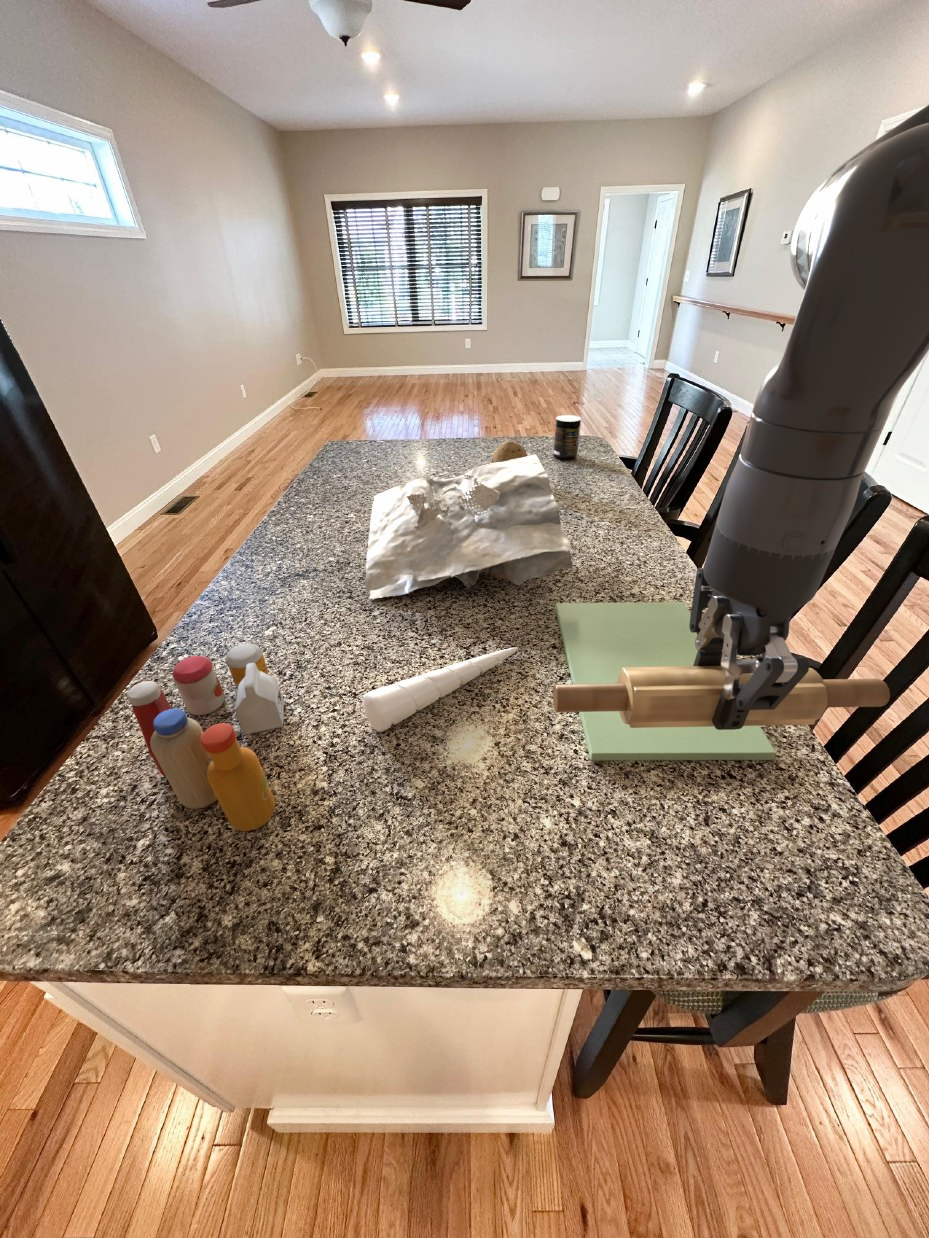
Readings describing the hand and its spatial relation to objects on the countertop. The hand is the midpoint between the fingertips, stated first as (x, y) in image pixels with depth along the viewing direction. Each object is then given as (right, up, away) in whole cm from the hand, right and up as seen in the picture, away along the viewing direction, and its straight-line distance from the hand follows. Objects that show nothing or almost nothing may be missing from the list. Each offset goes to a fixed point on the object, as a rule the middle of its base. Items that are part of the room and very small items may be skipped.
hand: (712, 703), depth 45 cm
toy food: (-50, -7, +15) cm, 53 cm away
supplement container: (+6, +52, +98) cm, 111 cm away
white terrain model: (-22, +20, +52) cm, 60 cm away
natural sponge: (-11, +42, +83) cm, 94 cm away
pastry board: (+2, 0, +24) cm, 24 cm away
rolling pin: (0, -1, 0) cm, 1 cm away
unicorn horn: (-24, -2, +22) cm, 33 cm away
